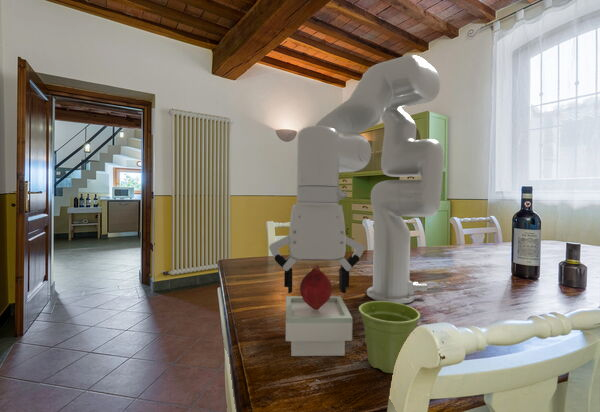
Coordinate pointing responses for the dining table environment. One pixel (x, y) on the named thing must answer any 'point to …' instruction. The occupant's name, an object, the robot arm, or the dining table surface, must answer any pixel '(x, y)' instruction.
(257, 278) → the dining table surface
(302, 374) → the dining table surface
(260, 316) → the dining table surface
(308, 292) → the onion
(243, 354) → the dining table surface
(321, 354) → the pedestal
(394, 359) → the plant pot
